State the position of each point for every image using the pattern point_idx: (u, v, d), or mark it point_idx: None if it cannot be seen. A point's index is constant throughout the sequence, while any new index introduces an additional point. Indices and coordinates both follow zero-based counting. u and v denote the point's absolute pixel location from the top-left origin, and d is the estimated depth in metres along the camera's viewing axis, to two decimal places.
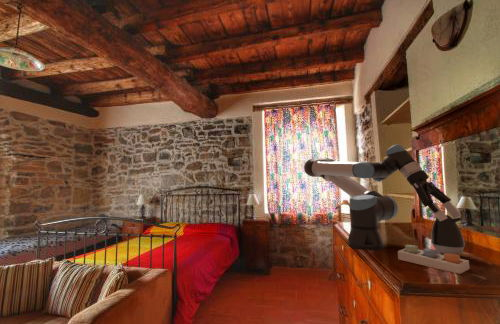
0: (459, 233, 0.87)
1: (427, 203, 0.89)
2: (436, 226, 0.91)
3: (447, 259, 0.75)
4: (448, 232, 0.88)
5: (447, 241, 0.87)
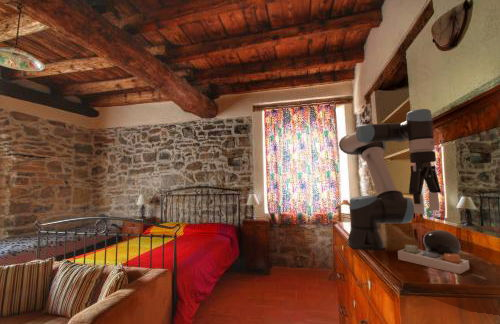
0: (452, 249, 0.81)
1: (414, 193, 0.78)
2: (428, 249, 0.85)
3: (447, 259, 0.75)
4: None
5: None
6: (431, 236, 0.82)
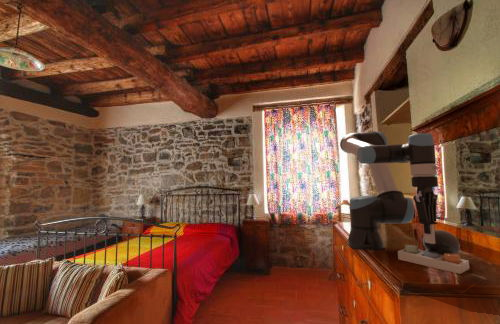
0: (452, 249, 0.81)
1: None
2: (428, 250, 0.85)
3: (447, 259, 0.75)
4: None
5: None
6: None
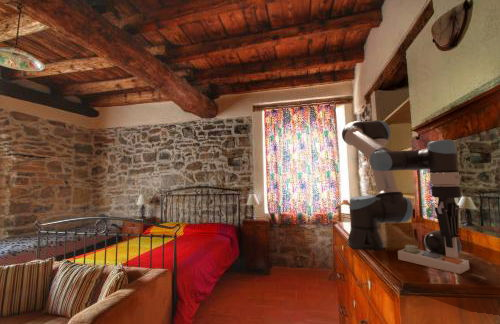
0: None
1: None
2: (429, 250, 0.85)
3: None
4: None
5: None
6: (432, 237, 0.82)
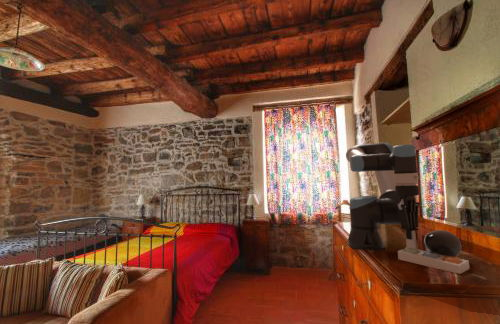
0: (453, 250, 0.81)
1: None
2: (429, 250, 0.85)
3: None
4: None
5: None
6: (432, 237, 0.82)
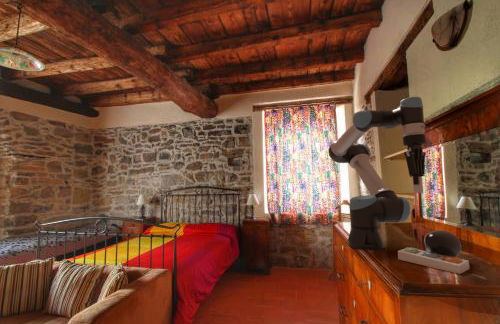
0: (453, 250, 0.81)
1: None
2: (429, 250, 0.85)
3: None
4: None
5: None
6: (432, 237, 0.82)
